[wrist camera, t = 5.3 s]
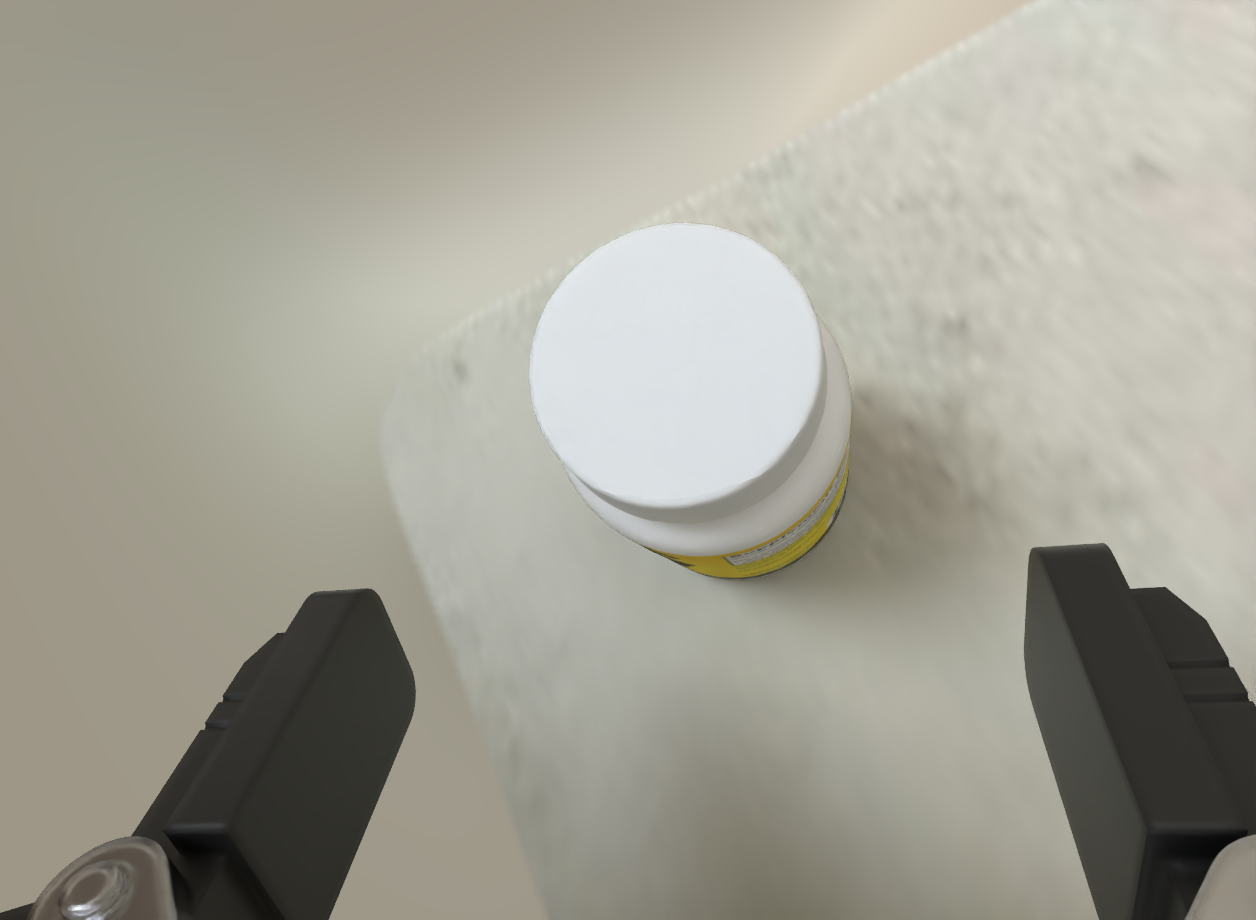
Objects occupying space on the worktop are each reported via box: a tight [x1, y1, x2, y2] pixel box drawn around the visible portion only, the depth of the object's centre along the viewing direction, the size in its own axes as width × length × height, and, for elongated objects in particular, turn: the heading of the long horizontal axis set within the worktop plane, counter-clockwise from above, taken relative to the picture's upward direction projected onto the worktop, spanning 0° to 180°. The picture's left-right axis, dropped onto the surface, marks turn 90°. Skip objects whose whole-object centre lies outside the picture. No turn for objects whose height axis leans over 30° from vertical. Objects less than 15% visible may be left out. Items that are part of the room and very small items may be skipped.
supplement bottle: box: [529, 223, 852, 580], centre depth 16 cm, size 5×5×8 cm
